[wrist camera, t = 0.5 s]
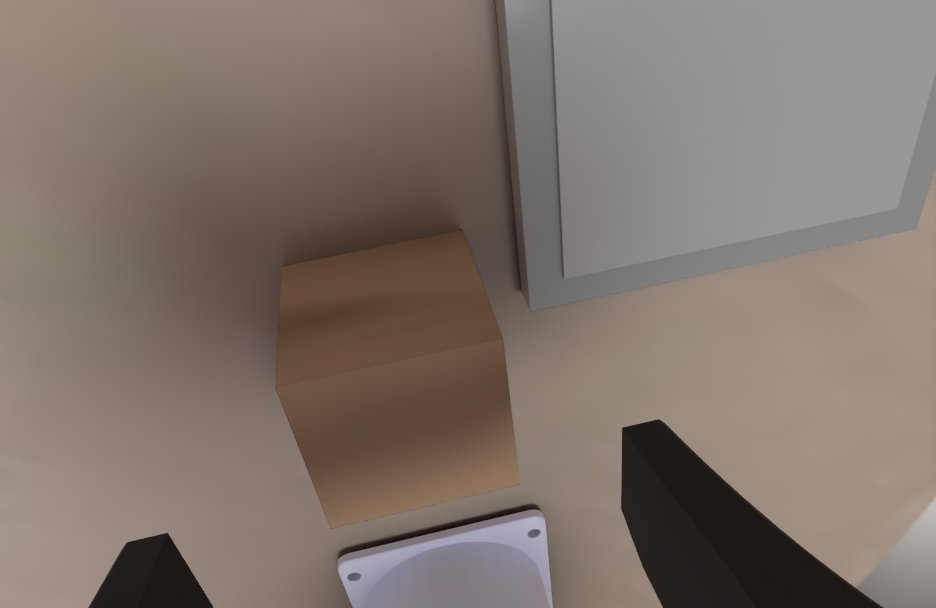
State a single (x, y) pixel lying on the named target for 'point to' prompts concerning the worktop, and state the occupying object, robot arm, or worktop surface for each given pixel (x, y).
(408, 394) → the cube
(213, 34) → the worktop surface
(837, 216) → the grey framed panel
